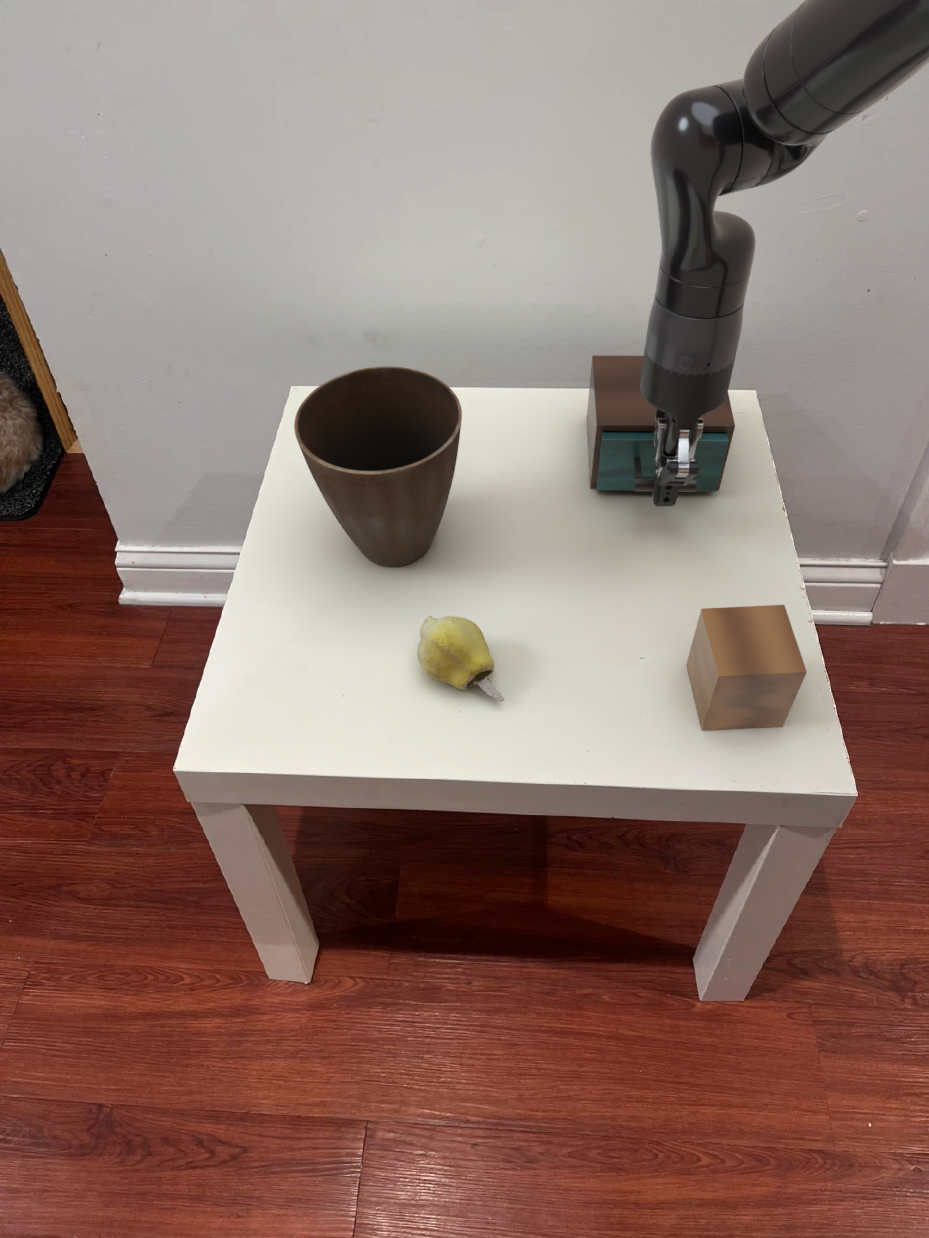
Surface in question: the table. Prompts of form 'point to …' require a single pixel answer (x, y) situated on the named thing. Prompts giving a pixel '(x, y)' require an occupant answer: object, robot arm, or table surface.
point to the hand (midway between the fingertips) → (663, 500)
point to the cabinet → (632, 407)
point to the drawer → (633, 461)
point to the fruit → (456, 653)
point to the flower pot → (383, 456)
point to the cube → (744, 667)
